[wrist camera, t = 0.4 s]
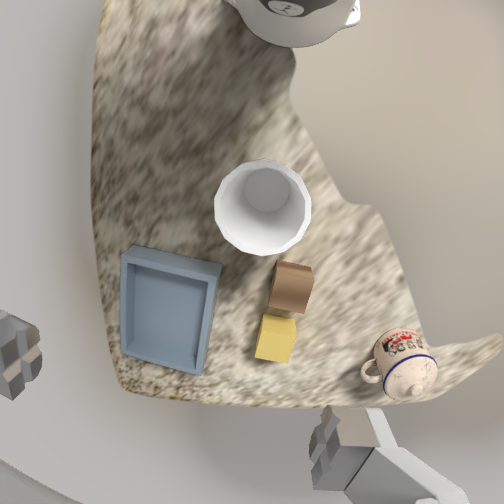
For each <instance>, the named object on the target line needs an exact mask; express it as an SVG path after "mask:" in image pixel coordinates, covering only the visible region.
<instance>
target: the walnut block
mask: <svg viewBox="0 0 504 504" xmlns="http://www.w3.org/2000/svg"><path fill="white" fill-rule="evenodd" d="M313 284H314V278H313V274H312V270H311V267H308V266H303V265H299V264H294V263H289V262H285V261H280V260H277V262H276V266H275V270H274V274H273V278H272V282H271V286H270V290H269V303H268V307H272V308H277V309H282V310H287V311H292V312H297V313H302V314H304V312H305V309H306V306H307V303H308V300H309V297H310V293H311V290H312V287H313Z"/></svg>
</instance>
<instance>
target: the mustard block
mask: <svg viewBox="0 0 504 504" xmlns="http://www.w3.org/2000/svg"><path fill="white" fill-rule="evenodd" d="M295 340H296V326H295V320H294V319H289V318H284V317H279V316H274V315H270V314H265V313H263V317H262V321H261V325H260V329H259V333H258V336H257V342H256V350H255V358H260V359H265V360H270V361H275V362H281V363H286V364H287V363H288V360H289V357H290V354H291V352H292V349H293V346H294V343H295Z"/></svg>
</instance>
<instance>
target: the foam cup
mask: <svg viewBox="0 0 504 504" xmlns="http://www.w3.org/2000/svg"><path fill="white" fill-rule="evenodd" d="M214 207H215V221H216V223H217V225H218V226H219V228H220V230H221V232H222V234H223V236H224V238H225V239H226V240H227V241H229V242H230V243H231V244H233V245H234V246H235V247H237V248H238V249H239V250H241V251H242V252H246V253H251V254H255V255H259V256H266V255H271V254H277V253H282V252H284V251H286V250H287V249H288V248H290V247H291V246H293V245H294V244H295V243H297V242H298V241H299V240H301V238H302V236H303V234H304V232H305V230H306V229H307V227H308V225H309V223H310V221H311V198H310V195H309V193H308V191H307V189H306V187H305V184H304V182H303V180H302V178H301V177H300V176H299V175H298V174H297V173H296V172H294V171H293V170H292V169H291V168H289V167H288V166H287V165H286V164H284V163H281V162H277V161H272V160H268V159H264V158H263V159H259V160H254V161H250V162H246V163H242V164H241V165H239V166H238V167H237V168H236V169H234V170H233V171H232V172H231V173H229V174H228V175H227V176H226V177H225V178H223V180H222V182H221V184H220V187H219V189H218V191H217V193H216V196H215V198H214Z"/></svg>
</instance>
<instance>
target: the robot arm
mask: <svg viewBox="0 0 504 504" xmlns="http://www.w3.org/2000/svg"><path fill="white" fill-rule="evenodd" d="M226 1H227V2H228V3H229V4H231V5H232V6H233V7H235V8H236V9H237V10H238V11H239V13H240V15H241V17H242V19H243V21H244V22H245V24H246V25H247V27H248V28H249V29H250V30H251V31H252V32H253V33H254V34H256V35H257V36H258V37H260V38H262V39H263V40H265V41H267V42H270V43H272V44H275V45H279V46H283V47H291V48H293V47H294V48H300V47H308V46H313V45H316V44H319V43H321V42H323V41H325V40H327V39H328V38H330V37H331V36H332V35H333V34H335V33H336V32H337V31H339V30H341V29H344V28H349V27H352V26H355V25H357V24H358V23H359V21H360V17H361V16H360V4H359V0H226ZM352 10H353V11H354V12H352ZM39 341H40V335H39V330H38V329H37V327H36V326H34V325H32V324H30V323H28V322H26V321H24V320H22V319H20V318H18V317H16V316H14V315H11V314H10V313H7V312H5V311H4V310H0V394H1V395H3V396H5V397H7V398H9V399H10V400H14V399H15V398H16V397H17V396H18V395H19V394H20V393H21V392H22V391H23V390H24V389H25V383H26V382H30V381H33V380H34V379H35V378H36V377H37V376H38V374H39V372H40V370H41V367H42V353H41V351H40V349H39V348H38V346H37V344H38V342H39ZM321 420H322V423H321V424H320V425H318V426H317V427H315V429H314V431H313V433H312V436H311V440H310V444H309V455H310V456H309V457H310V460H312V462H313V463H314V464H315V465H314V467H313V469H312V470H311V474H312V482H313V489H314V490H329V491H344V494H345V495H346V496H347V497H348V498H349V499H350V501H351V502H352V503H353V504H470V503H469V501H468V499H467V497H466V495H465V493H464V491H463V490H462V489H461V488H459V487H458V486H456V485H455V484H453V483H452V482H450V481H449V480H447V479H446V478H444V477H443V476H442V475H440V474H439V473H437V472H436V471H435V470H433V469H432V468H430V467H429V466H427V465H426V464H425V463H423V462H422V461H421V460H419V459H418V458H417V457H415V456H414V455H412V454H411V453H410V452H408V451H407V450H406V449H404V448H403V447H402V448H398V446H397V444H396V441H395V439H394V437H393V434H392V432H391V430H390V428H389V425H388V423H387V421H386V418H385V416H384V414H383V412H382V410H381V409H379V408H365V407H362V408H357V407H345V406H335V405H327V406H326V407H325V408H324V410H323V412H322V414H321ZM0 504H82V503H80V502H77V501H75V500H73V499H71V498H69V497H67V496H64V495H63V494H61V493H59V492H57V491H55V490H53V489H51V488H49V487H47V486H45V485H43V484H41V483H39V482H38V481H36V480H34V479H33V478H31V477H29V476H27V475H26V474H24V473H22V472H21V471H19V470H17V469H16V468H14V467H13V466H11V465H9V464H8V463H6V462H5V461H3V460H2V459H0Z"/></svg>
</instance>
